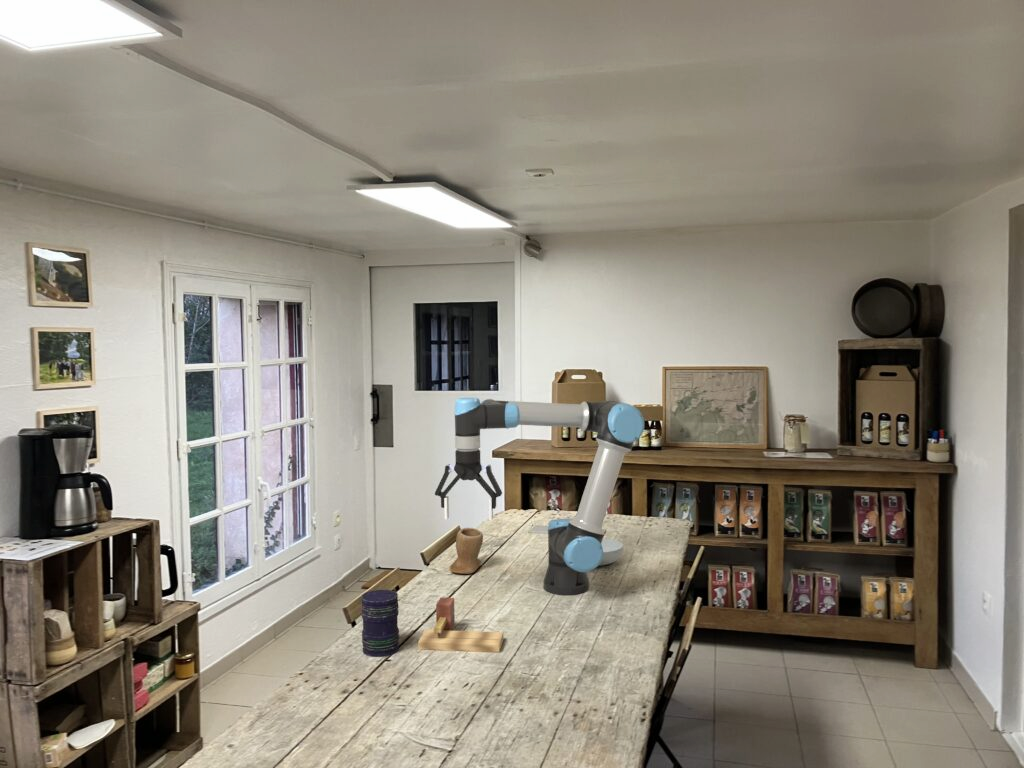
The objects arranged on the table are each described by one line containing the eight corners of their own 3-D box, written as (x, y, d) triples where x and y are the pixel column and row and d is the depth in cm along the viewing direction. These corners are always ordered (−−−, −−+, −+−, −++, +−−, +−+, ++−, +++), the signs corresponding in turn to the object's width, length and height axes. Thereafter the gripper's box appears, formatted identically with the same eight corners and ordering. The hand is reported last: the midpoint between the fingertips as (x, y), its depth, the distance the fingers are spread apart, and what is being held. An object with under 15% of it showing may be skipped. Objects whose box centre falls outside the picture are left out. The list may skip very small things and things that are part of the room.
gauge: (454, 628, 229) (454, 597, 229) (444, 647, 216) (444, 615, 215) (441, 628, 230) (440, 597, 229) (430, 647, 216) (429, 614, 215)
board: (503, 639, 221) (503, 632, 221) (499, 652, 212) (499, 645, 212) (425, 636, 223) (425, 629, 223) (418, 649, 214) (418, 642, 214)
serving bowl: (622, 555, 302) (622, 537, 302) (624, 571, 282) (624, 552, 281) (567, 554, 304) (567, 536, 304) (565, 570, 284) (565, 551, 283)
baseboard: (600, 540, 326) (605, 533, 338) (600, 533, 326) (605, 526, 337) (528, 535, 335) (535, 528, 347) (528, 528, 335) (535, 521, 346)
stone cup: (478, 577, 277) (478, 534, 276) (445, 575, 279) (445, 533, 278) (489, 564, 292) (488, 524, 291) (458, 563, 294) (457, 523, 293)
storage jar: (368, 660, 208) (367, 604, 207) (357, 647, 217) (356, 593, 216) (404, 652, 212) (403, 597, 211) (392, 640, 221) (391, 587, 220)
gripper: (510, 447, 242) (511, 516, 243) (429, 447, 245) (431, 515, 246) (507, 451, 234) (508, 522, 236) (424, 450, 237) (425, 520, 239)
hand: (468, 518), depth 241 cm, fingers open, 13 cm apart
